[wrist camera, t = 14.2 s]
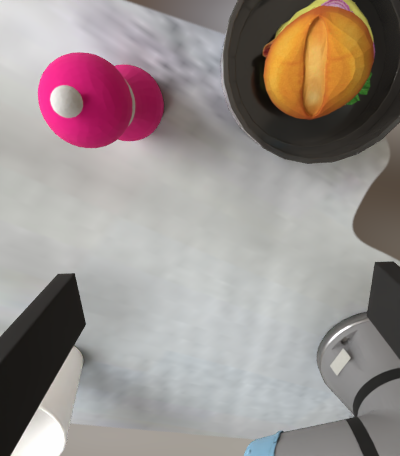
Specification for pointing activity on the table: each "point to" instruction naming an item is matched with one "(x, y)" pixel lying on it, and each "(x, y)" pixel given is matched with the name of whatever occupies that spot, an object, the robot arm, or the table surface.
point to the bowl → (323, 126)
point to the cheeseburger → (319, 59)
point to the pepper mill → (98, 101)
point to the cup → (53, 413)
